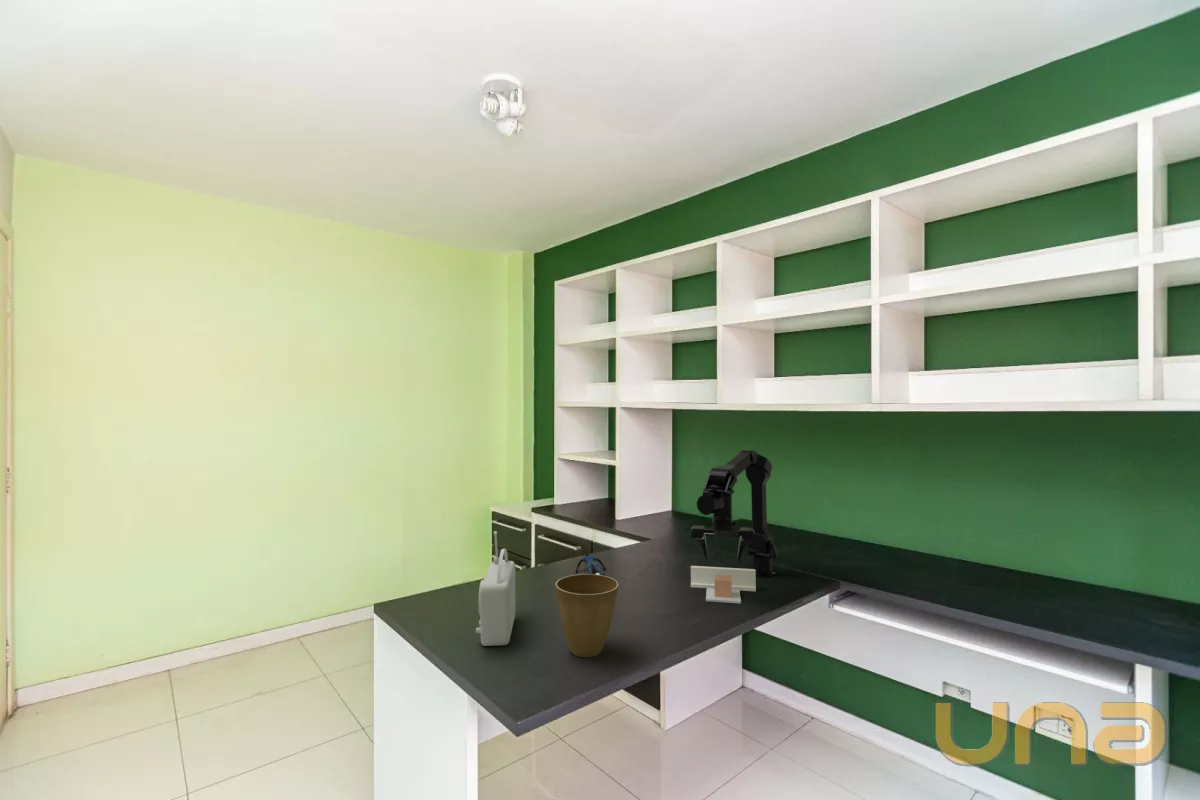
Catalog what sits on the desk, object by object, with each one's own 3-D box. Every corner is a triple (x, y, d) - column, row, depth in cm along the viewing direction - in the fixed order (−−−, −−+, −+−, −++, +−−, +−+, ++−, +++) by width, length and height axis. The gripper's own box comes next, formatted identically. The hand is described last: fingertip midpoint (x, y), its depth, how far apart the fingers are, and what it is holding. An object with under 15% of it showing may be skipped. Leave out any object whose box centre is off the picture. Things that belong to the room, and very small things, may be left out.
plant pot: (578, 672, 118) (578, 598, 119) (544, 647, 131) (543, 580, 131) (631, 653, 127) (631, 584, 127) (594, 632, 139) (594, 569, 139)
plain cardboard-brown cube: (714, 590, 168) (714, 574, 168) (731, 591, 166) (731, 575, 166) (714, 596, 162) (714, 579, 163) (731, 597, 161) (731, 581, 161)
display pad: (706, 589, 170) (706, 587, 170) (739, 591, 168) (739, 590, 168) (705, 601, 160) (705, 599, 160) (740, 603, 158) (740, 601, 158)
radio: (486, 615, 150) (485, 525, 151) (516, 614, 151) (515, 524, 151) (473, 651, 129) (472, 546, 129) (508, 650, 129) (507, 545, 129)
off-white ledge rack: (691, 583, 177) (691, 564, 177) (755, 587, 172) (754, 568, 172) (690, 587, 173) (690, 568, 173) (756, 591, 168) (755, 572, 169)
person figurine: (613, 585, 180) (600, 562, 198) (614, 572, 180) (601, 550, 197) (581, 588, 178) (571, 564, 195) (582, 575, 177) (571, 552, 195)
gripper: (689, 513, 159) (690, 567, 158) (756, 516, 155) (756, 571, 154) (691, 506, 169) (691, 557, 169) (753, 509, 165) (753, 560, 165)
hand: (722, 561), depth 164 cm, fingers open, 9 cm apart
